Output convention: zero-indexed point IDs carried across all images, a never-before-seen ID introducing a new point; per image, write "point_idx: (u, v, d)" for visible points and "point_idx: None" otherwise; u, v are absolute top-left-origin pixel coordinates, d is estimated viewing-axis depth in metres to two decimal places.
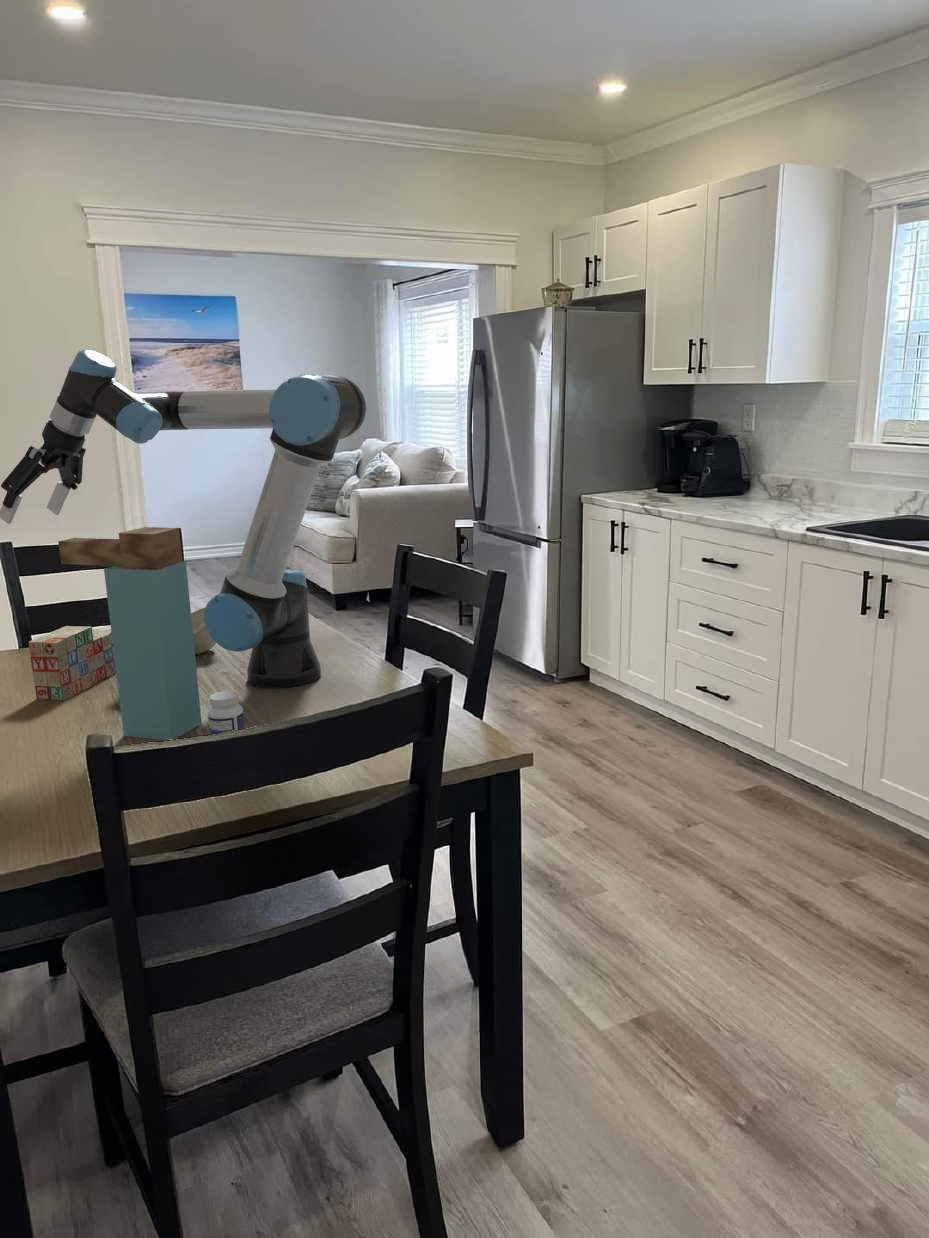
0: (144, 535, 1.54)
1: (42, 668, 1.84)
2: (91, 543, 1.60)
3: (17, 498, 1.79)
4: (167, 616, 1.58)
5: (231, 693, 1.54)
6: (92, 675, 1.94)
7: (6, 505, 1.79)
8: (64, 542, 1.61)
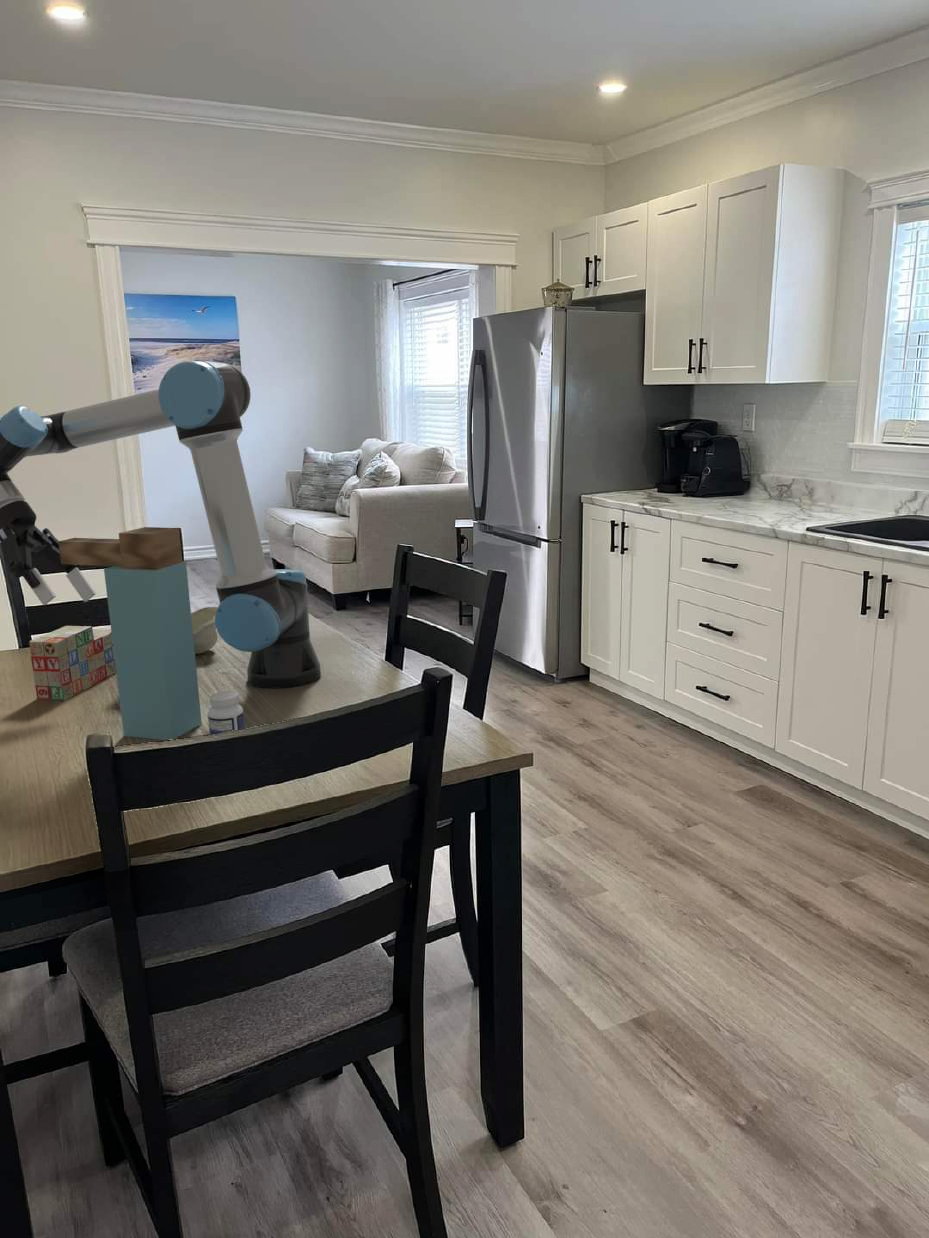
0: (144, 535, 1.54)
1: (42, 668, 1.84)
2: (91, 543, 1.60)
3: (34, 571, 1.71)
4: (167, 616, 1.58)
5: (230, 693, 1.54)
6: (93, 674, 1.94)
7: (33, 583, 1.70)
8: (64, 542, 1.61)
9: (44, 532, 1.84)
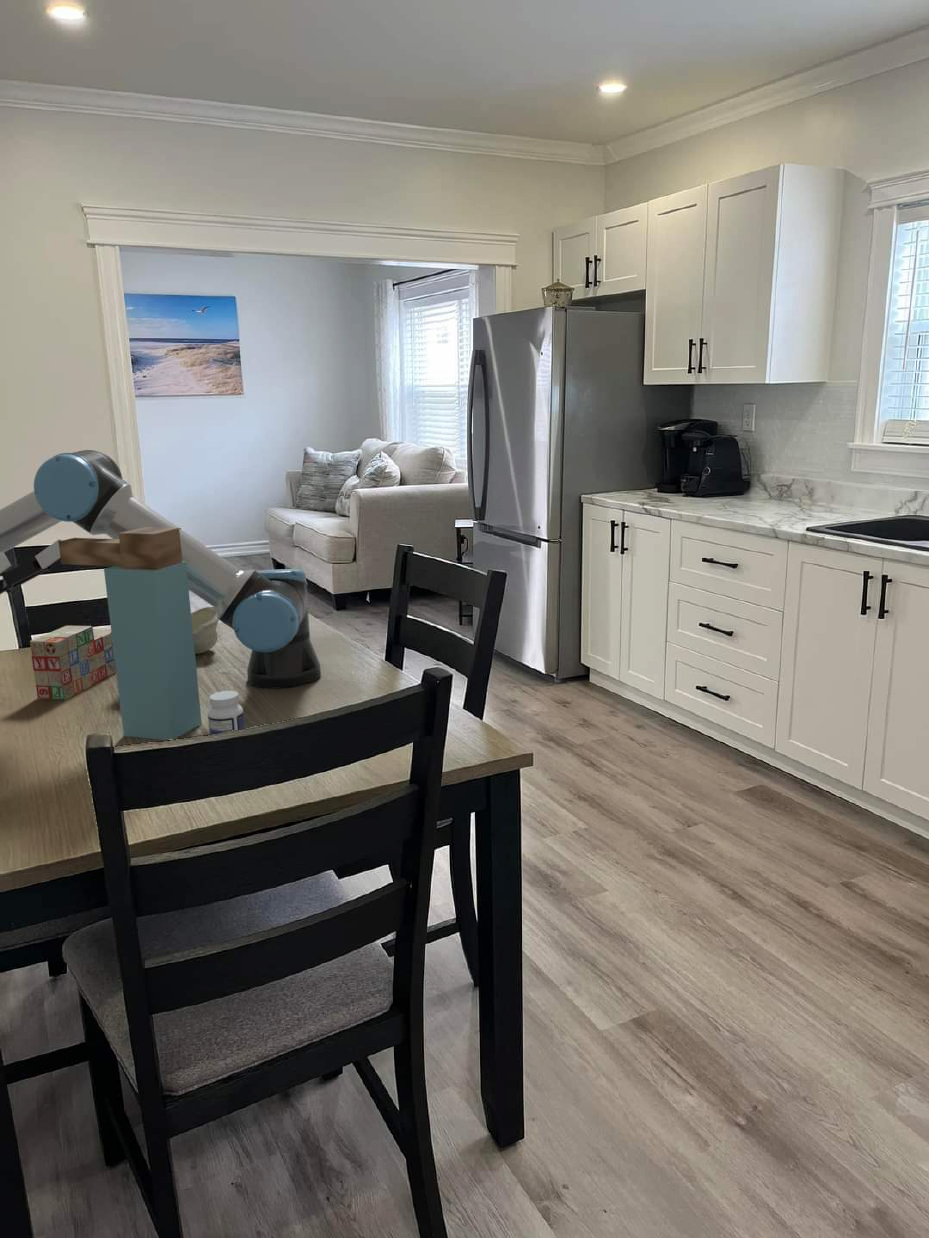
0: (144, 535, 1.54)
1: (43, 667, 1.84)
2: (91, 543, 1.60)
3: None
4: (167, 616, 1.58)
5: (230, 693, 1.54)
6: (93, 674, 1.94)
7: None
8: (64, 542, 1.61)
9: (2, 582, 1.75)
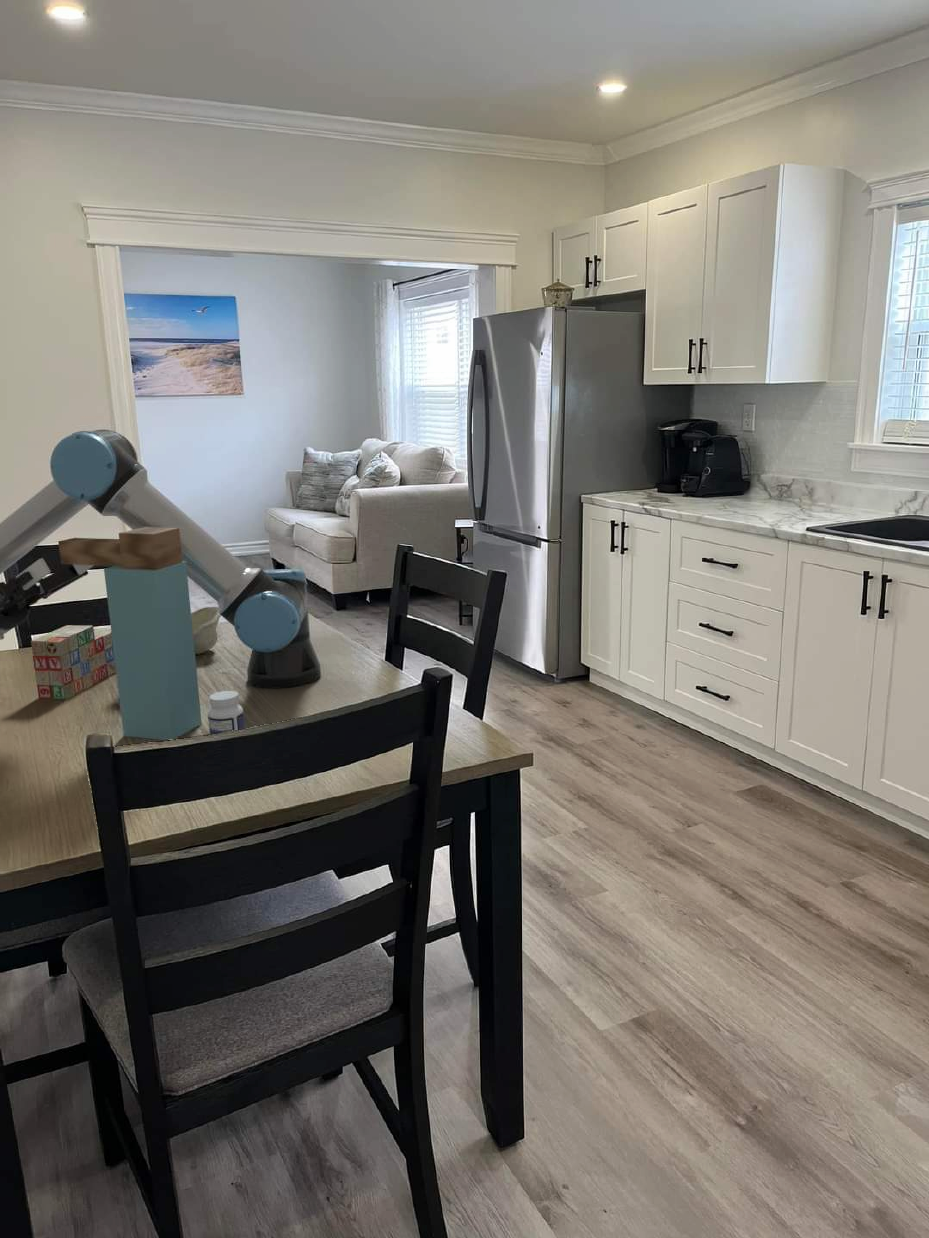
0: (144, 535, 1.54)
1: (44, 667, 1.84)
2: (91, 543, 1.60)
3: (19, 576, 1.59)
4: (167, 616, 1.58)
5: (230, 693, 1.54)
6: (94, 674, 1.94)
7: (24, 576, 1.57)
8: (64, 542, 1.61)
9: (38, 589, 1.75)
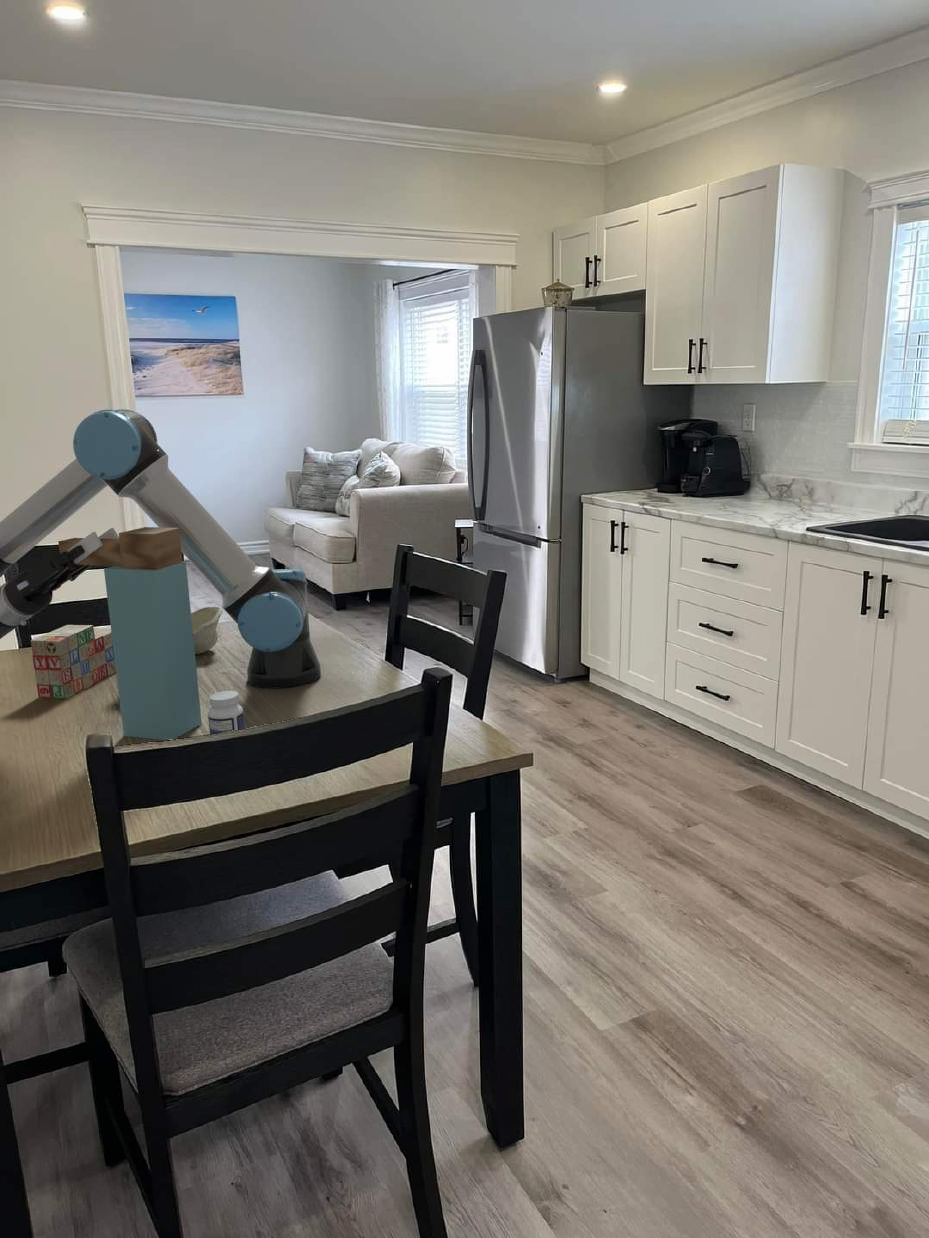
0: (144, 535, 1.54)
1: (44, 666, 1.85)
2: None
3: (70, 550, 1.60)
4: (167, 616, 1.58)
5: (230, 693, 1.54)
6: (94, 673, 1.95)
7: (76, 549, 1.59)
8: (64, 542, 1.61)
9: None
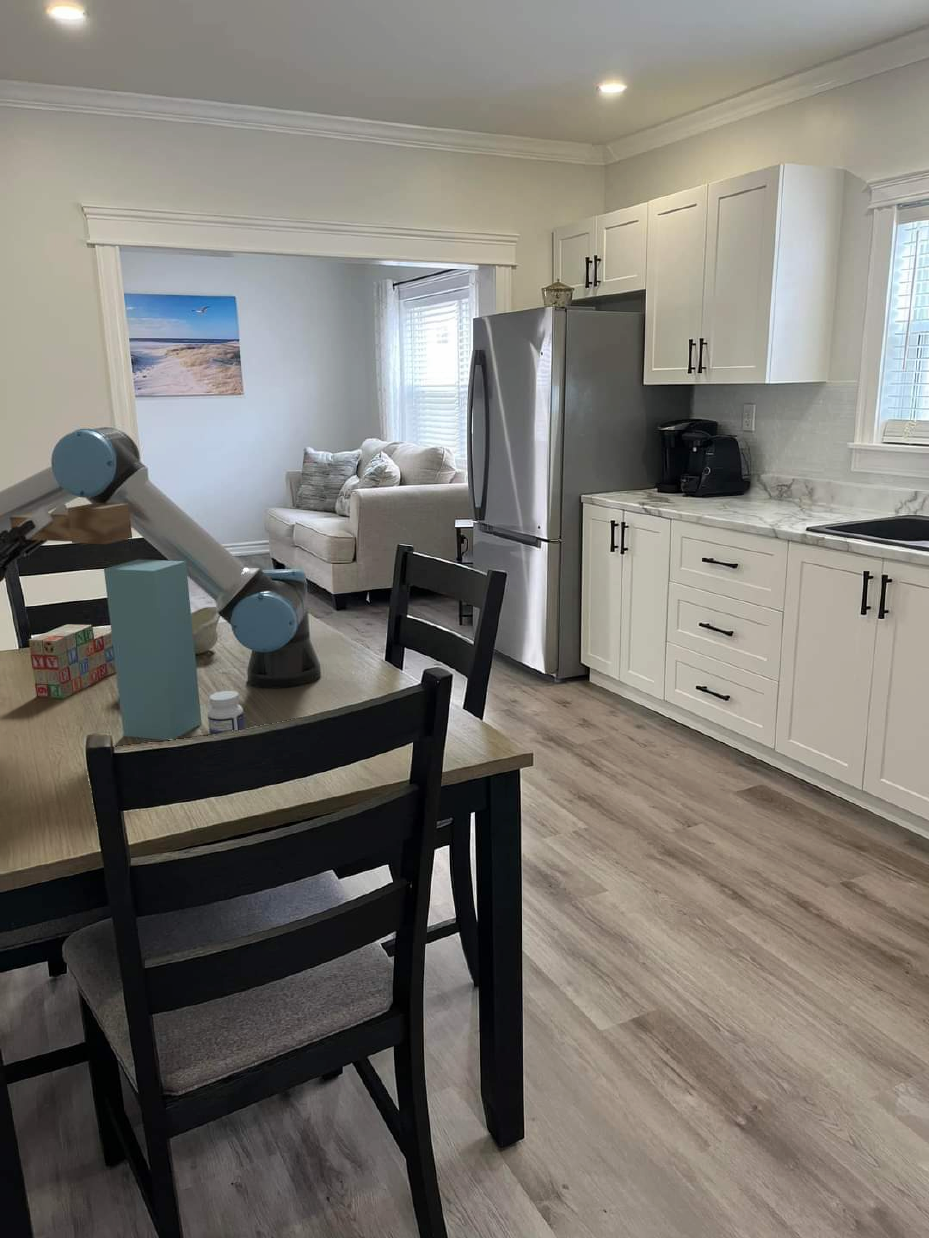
0: (92, 510, 1.56)
1: (42, 666, 1.85)
2: None
3: (21, 525, 1.62)
4: (167, 616, 1.58)
5: (230, 693, 1.54)
6: (93, 673, 1.95)
7: (26, 524, 1.61)
8: (15, 518, 1.63)
9: None
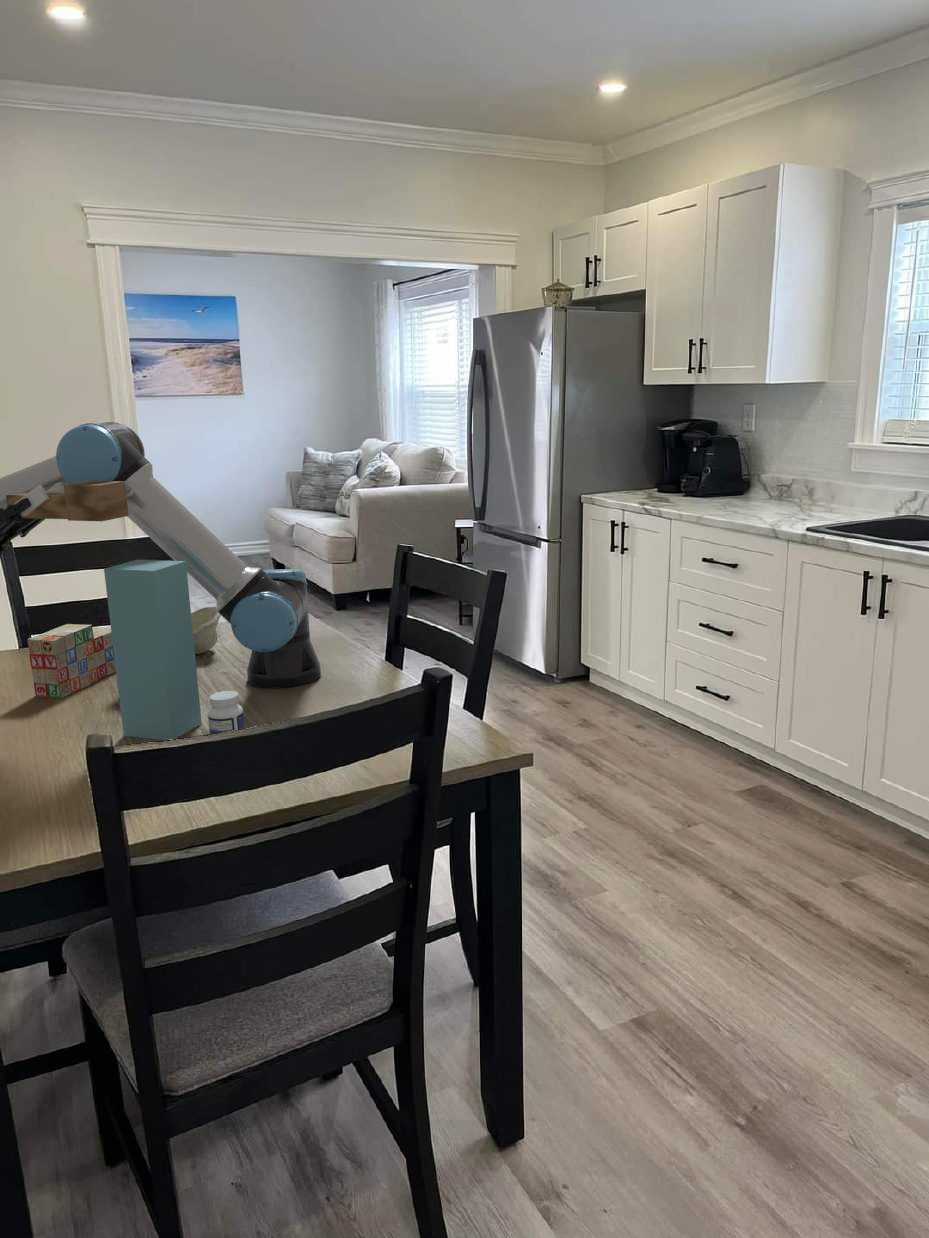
0: (88, 487, 1.55)
1: (40, 665, 1.85)
2: None
3: (17, 503, 1.62)
4: (167, 616, 1.58)
5: (230, 693, 1.54)
6: (92, 673, 1.95)
7: (22, 502, 1.60)
8: (11, 496, 1.63)
9: None
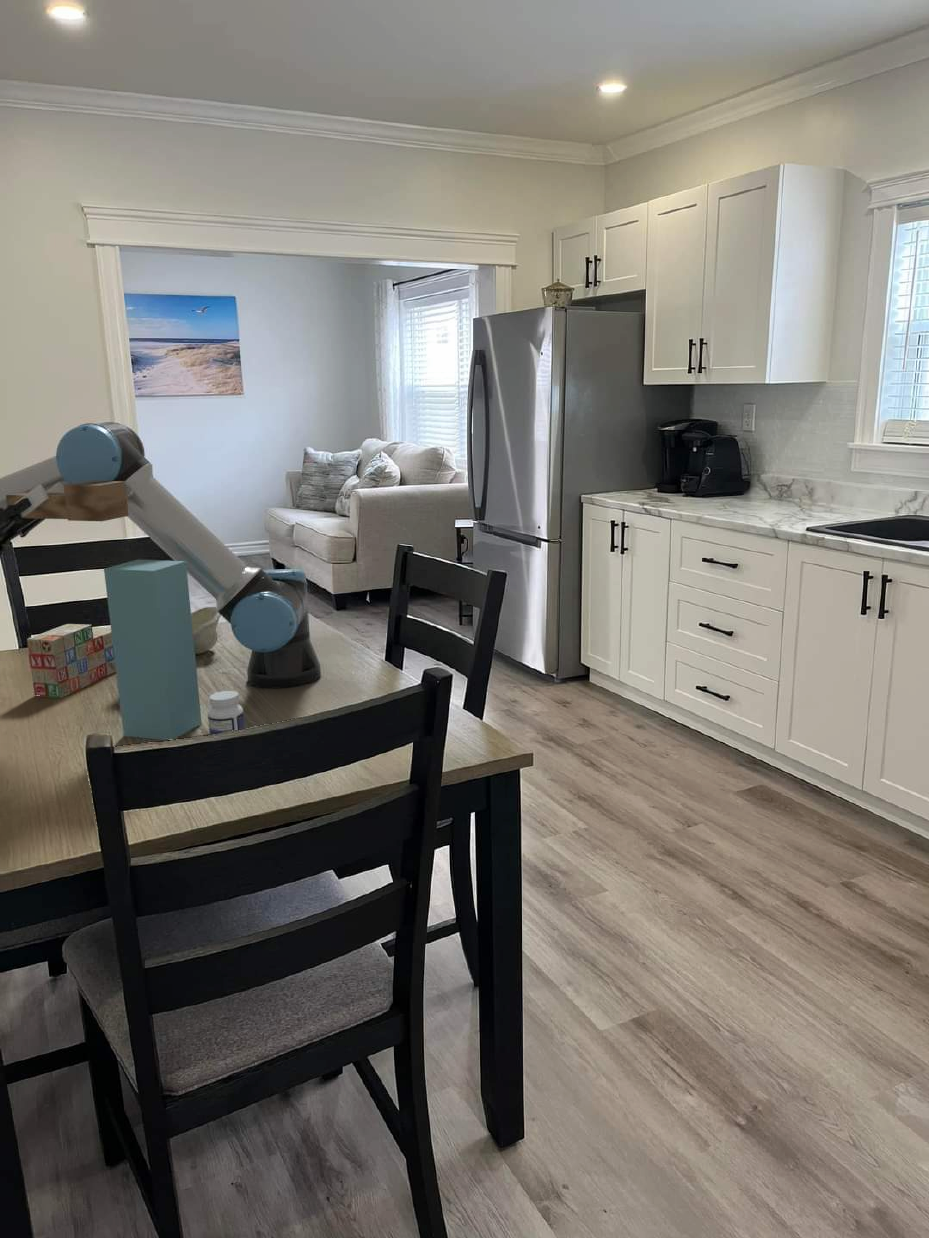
0: (88, 487, 1.55)
1: (40, 665, 1.86)
2: None
3: (17, 503, 1.62)
4: (167, 616, 1.58)
5: (230, 693, 1.54)
6: (92, 673, 1.95)
7: (22, 502, 1.60)
8: (11, 496, 1.63)
9: None
